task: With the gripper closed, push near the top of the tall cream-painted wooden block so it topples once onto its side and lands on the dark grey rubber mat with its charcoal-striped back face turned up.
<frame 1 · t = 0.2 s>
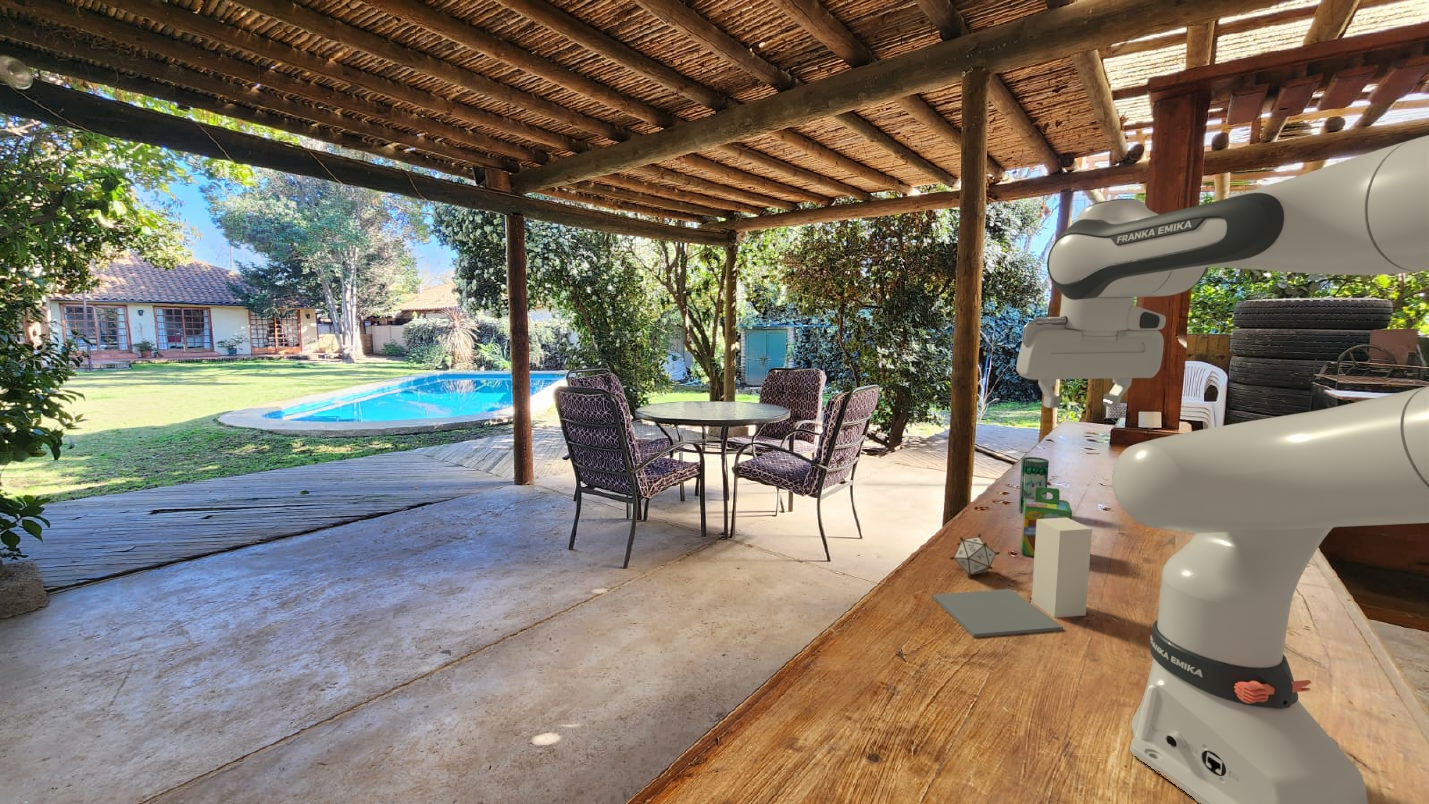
hand: (1080, 406, 86), 39 cm above the table, tool pointing down, fingers open, 8 cm apart
game die: (973, 574, 117), on the table
cream block: (1058, 608, 102), on the table
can: (1031, 513, 153), on the table
rubber mat: (993, 612, 101), on the table
chalk box: (1043, 552, 127), on the table
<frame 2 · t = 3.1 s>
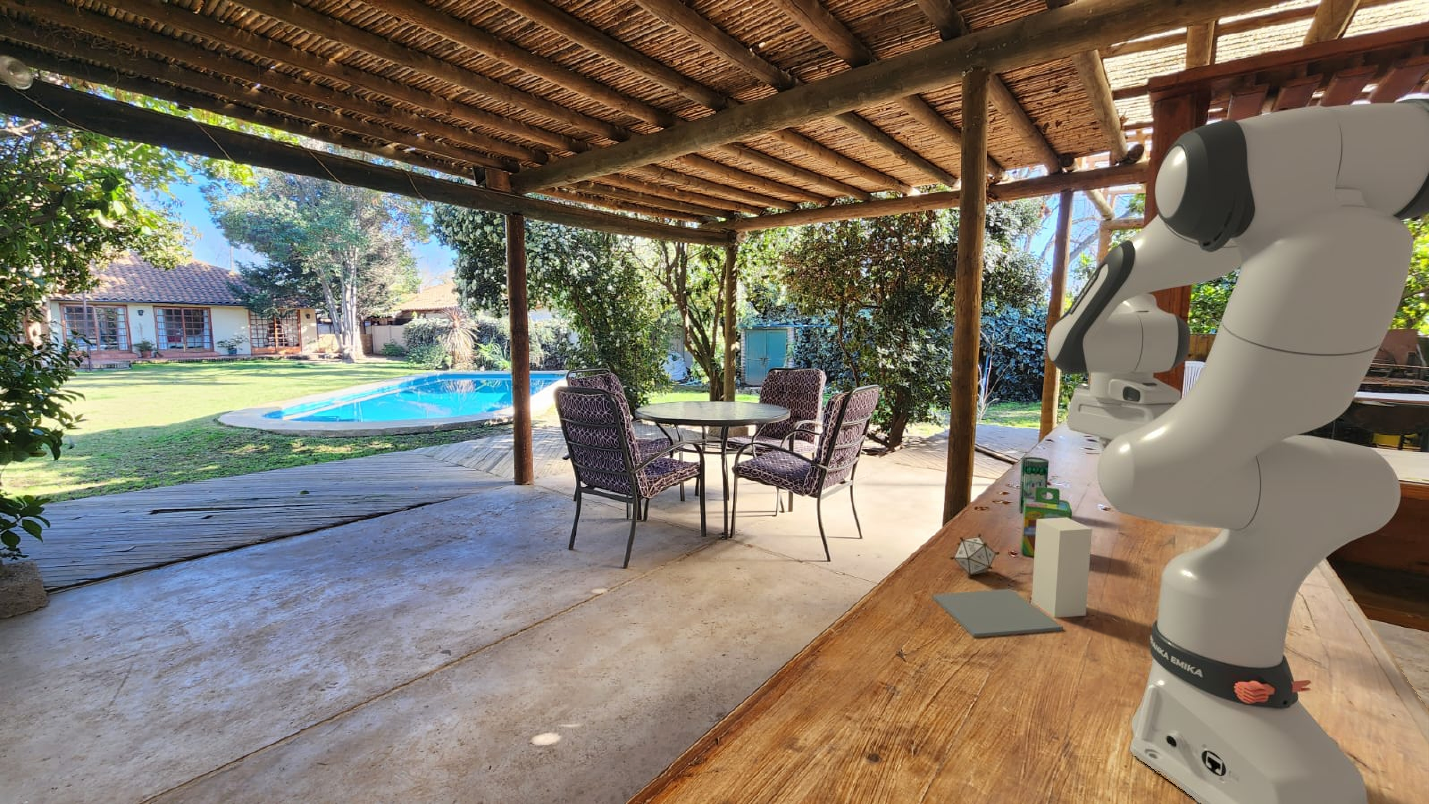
hand: (1114, 464, 99), 26 cm above the table, tool pointing down, fingers closed
nothing on the table moved.
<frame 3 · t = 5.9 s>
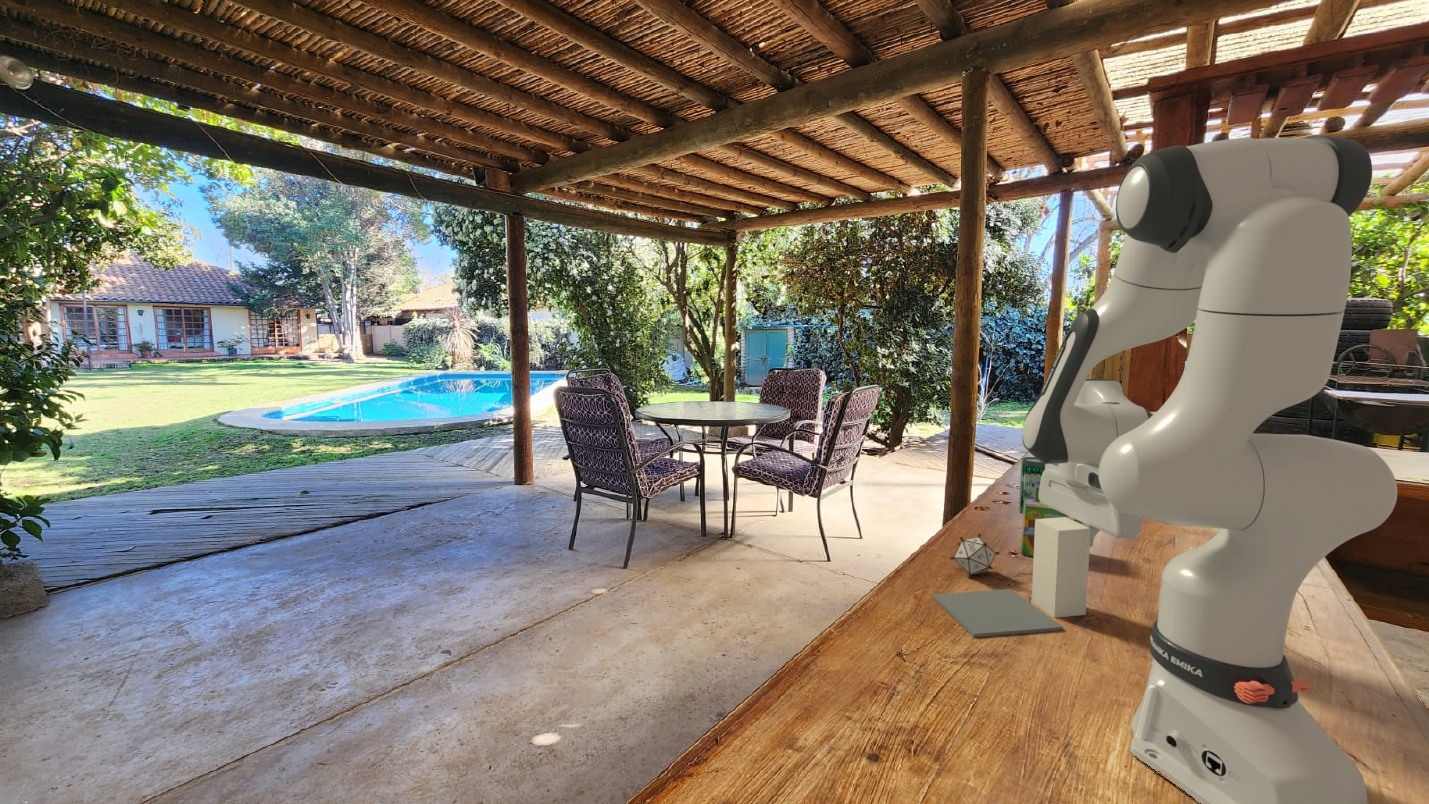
hand: (1082, 544, 101), 12 cm above the table, tool pointing down, fingers closed
cream block: (1058, 607, 102), on the table, touching gripper
everything else where it was.
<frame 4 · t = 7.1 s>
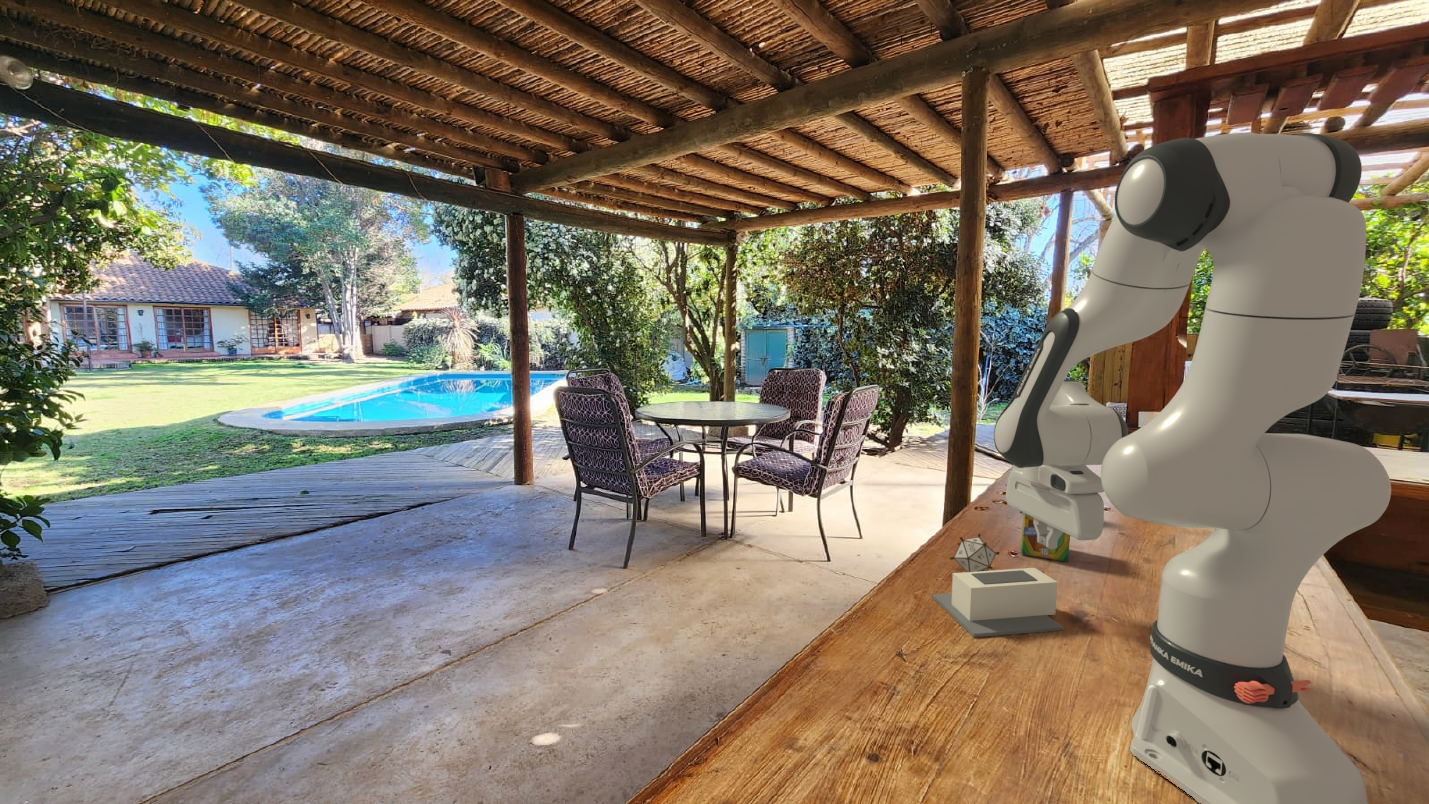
hand: (1046, 545, 100), 12 cm above the table, tool pointing down, fingers closed
cream block: (1044, 590, 101), point 4 cm above the table, tilted 90°, touching rubber mat
everything else where it was.
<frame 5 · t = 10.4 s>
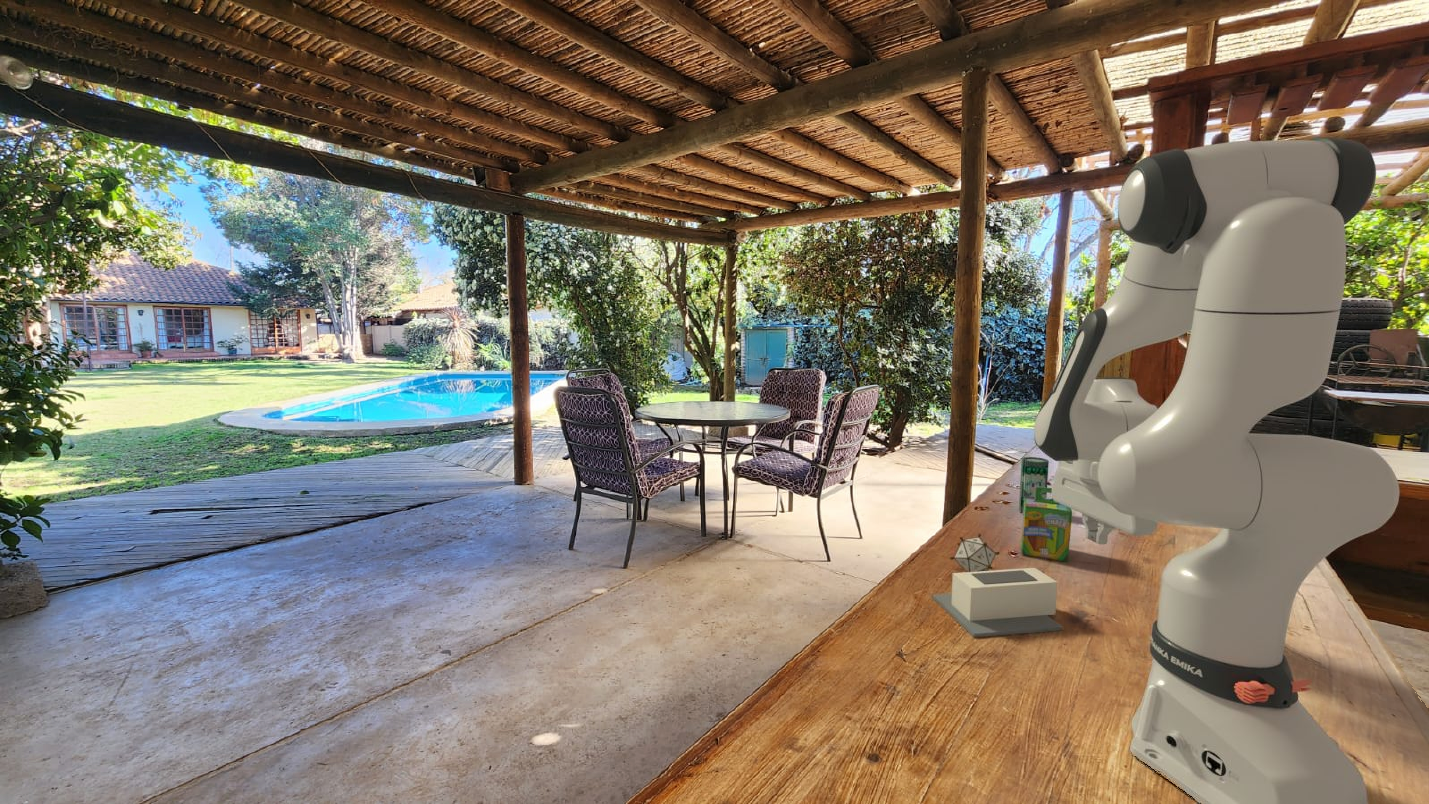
hand: (1096, 541, 101), 12 cm above the table, tool pointing down, fingers closed
nothing on the table moved.
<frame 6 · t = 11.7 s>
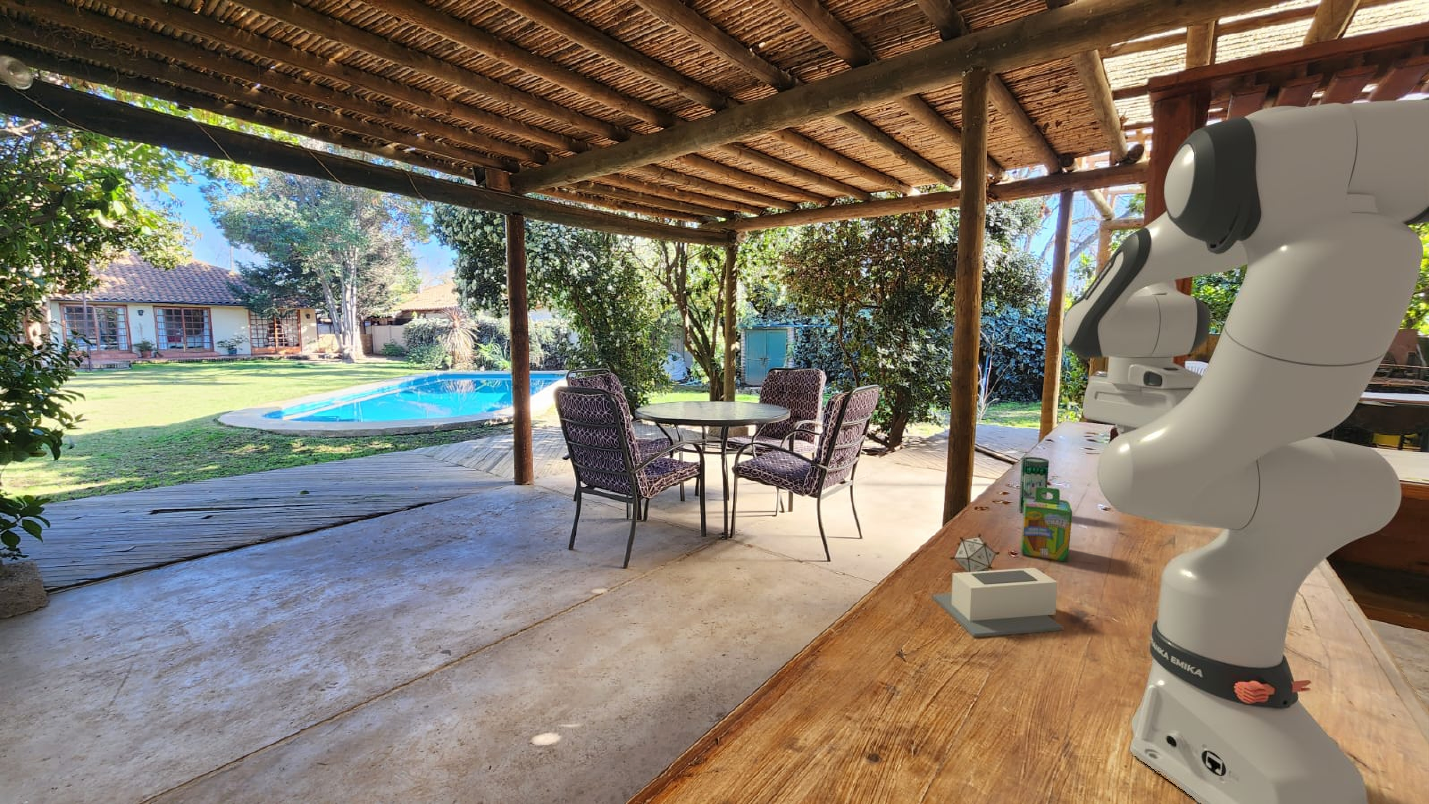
hand: (1132, 452, 98), 29 cm above the table, tool pointing down, fingers closed
nothing on the table moved.
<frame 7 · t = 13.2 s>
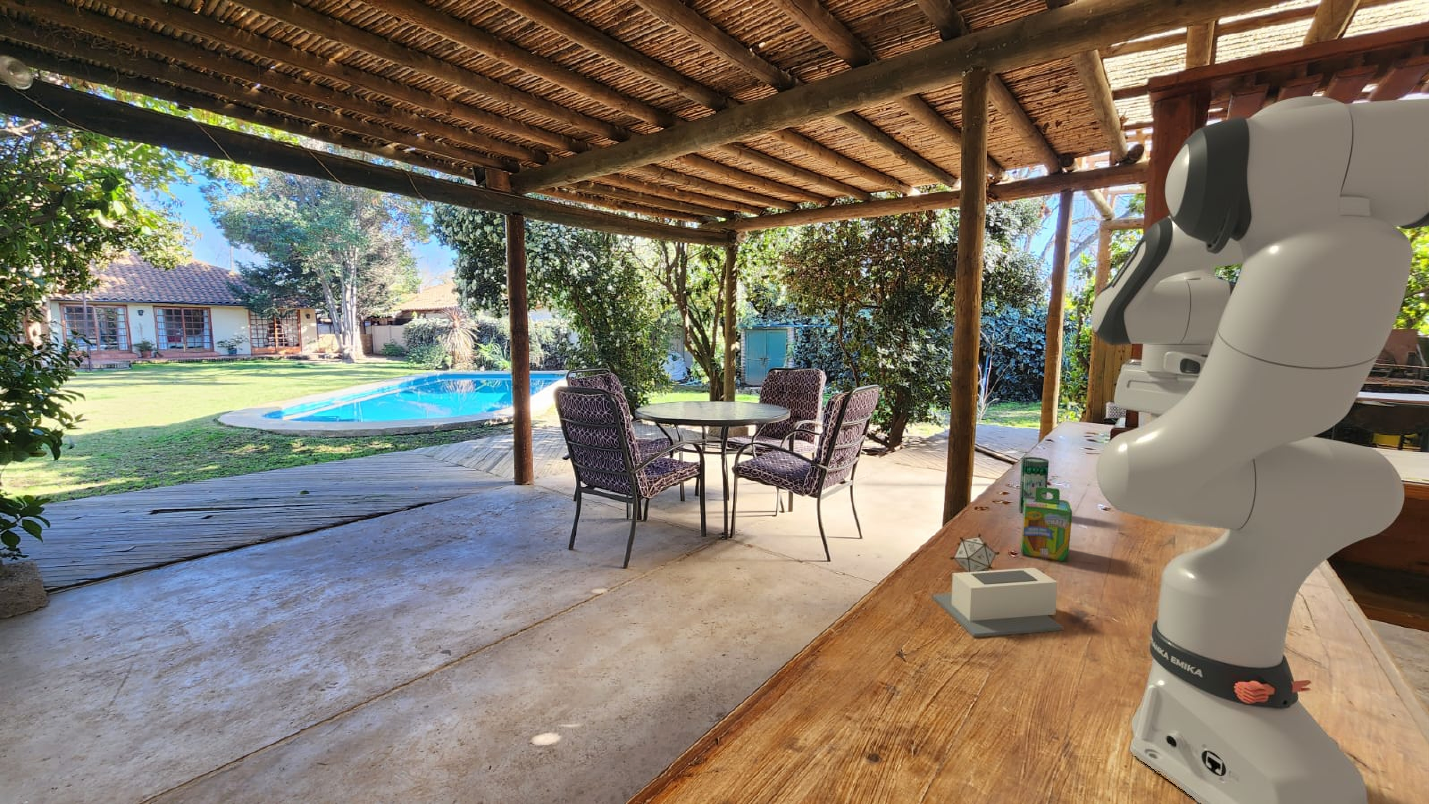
hand: (1167, 442, 96), 31 cm above the table, tool pointing down, fingers closed
nothing on the table moved.
at the end: cream block tilted 90°; cream block touching rubber mat; cream block inside the target area (1.6 cm from its centre), point 3.6 cm above the table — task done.
